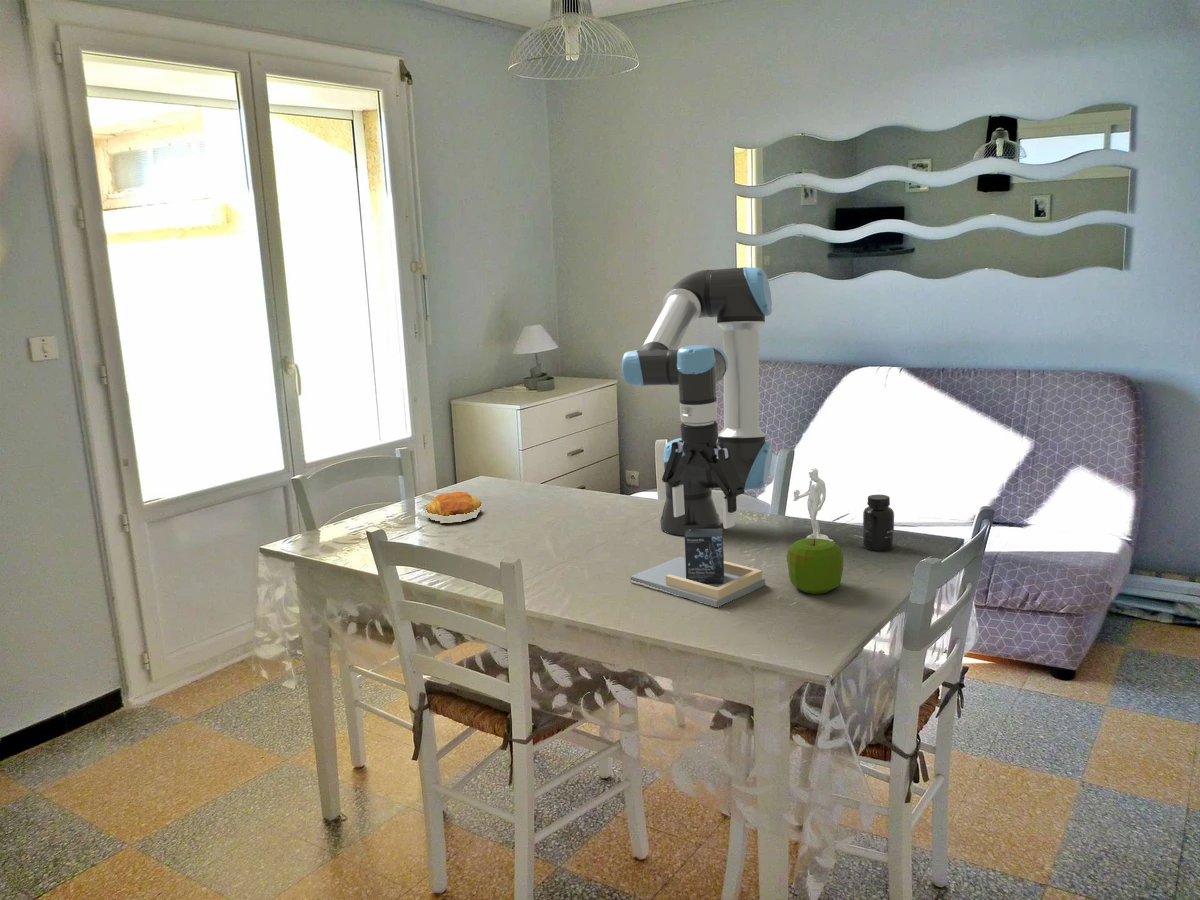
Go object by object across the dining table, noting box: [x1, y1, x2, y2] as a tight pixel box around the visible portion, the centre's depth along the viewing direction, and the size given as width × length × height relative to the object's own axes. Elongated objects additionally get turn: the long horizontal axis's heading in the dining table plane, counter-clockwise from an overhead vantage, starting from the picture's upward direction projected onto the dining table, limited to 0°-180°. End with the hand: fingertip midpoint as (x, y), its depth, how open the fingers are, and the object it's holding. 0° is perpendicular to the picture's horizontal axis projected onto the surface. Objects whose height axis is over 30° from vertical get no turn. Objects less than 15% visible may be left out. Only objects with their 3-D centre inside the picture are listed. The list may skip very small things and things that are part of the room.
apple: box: [786, 538, 844, 595], centre depth 196 cm, size 11×11×11 cm
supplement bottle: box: [862, 494, 895, 552], centre depth 218 cm, size 7×7×12 cm
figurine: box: [792, 468, 836, 544], centre depth 224 cm, size 8×7×18 cm
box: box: [684, 528, 725, 584], centre depth 201 cm, size 8×6×11 cm
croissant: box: [425, 491, 482, 516], centre depth 266 cm, size 14×16×8 cm
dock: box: [630, 556, 766, 608], centre depth 203 cm, size 24×16×4 cm, turn 44°
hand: (703, 521), depth 199 cm, fingers open, 13 cm apart
